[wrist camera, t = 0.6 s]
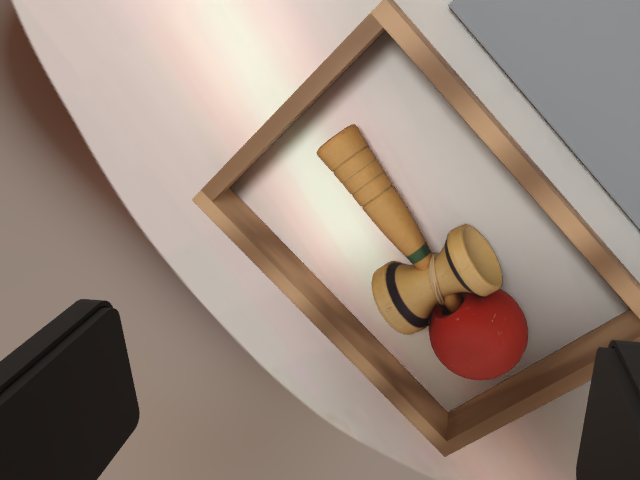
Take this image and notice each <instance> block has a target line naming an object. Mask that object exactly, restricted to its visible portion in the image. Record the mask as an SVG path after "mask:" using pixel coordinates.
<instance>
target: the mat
mask: <svg viewBox="0 0 640 480" xmlns="http://www.w3.org/2000/svg"><path fill="white" fill-rule="evenodd" d="M448 6H449V7H450V8H451V9H452V10H453V12H454V13H455V14H456V15H457V16H458V17H459V19H460V20H461V21H462V22H463V23H464V24H465V26H466V27H467V28H468V29H469V30H470V31H471V33H472V34H473V35H474V36H475V37H476V39H477V40H478V41H479V42H480V43H481V44H482V46H483V47H484V48H485V49H486V50H487V51H488V53H489V54H490V55H491V56H492V57H493V58H494V60H495V61H496V62H497V63H498V64H499V65H500V67H501V68H502V69H503V70H504V71H505V72H506V74H507V75H508V76H509V77H510V78H511V79H512V81H513V82H514V83H515V84H516V85H517V86H518V88H519V89H520V90H521V91H522V92H523V93H524V95H525V96H526V97H527V98H528V99H529V101H530V102H531V103H532V104H533V105H534V106H535V108H536V109H537V110H538V111H539V112H540V113H541V115H542V116H543V117H544V118H545V119H546V120H547V122H548V123H549V124H550V125H551V126H552V127H553V129H554V130H555V131H556V132H557V133H558V134H559V136H560V137H561V138H562V139H563V140H564V141H565V143H566V144H567V145H568V146H569V147H570V148H571V150H572V151H573V152H574V153H575V154H576V156H577V157H578V158H579V159H580V160H581V161H582V163H583V164H584V165H585V166H586V167H587V168H588V170H589V171H590V172H591V173H592V174H593V175H594V177H595V178H596V179H597V180H598V181H599V182H600V184H601V185H602V186H603V187H604V188H605V189H606V191H607V192H608V193H609V194H610V195H611V196H612V198H613V199H614V200H615V201H616V202H617V203H618V205H619V206H620V207H621V208H622V209H623V210H624V212H625V213H626V214H627V215H628V216H629V218H630V219H631V220H632V221H633V222H634V223H635V225H636V226H637V227H638V228H639V229H640V0H453V1H452V2H451V3H450V4H449V5H448Z"/></svg>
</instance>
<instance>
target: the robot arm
mask: <svg viewBox="0 0 640 480" xmlns="http://www.w3.org/2000/svg"><path fill="white" fill-rule="evenodd" d="M138 420H139V407H138V402H137V397H136V392H135V387H134V383H133V378H132V373H131V368H130V363H129V358H128V354H127V349H126V344H125V339H124V334H123V329H122V325H121V320H120V315H119V313H118V311H117V310H116V309H114V308H113V307H112V305H111V304H110V303H109V302H108V301H101V300H89V299H80V300H78V301H76V302H75V303H74V304H73V305H71V306H70V307H69V308H68V309H66V310H65V311H64V312H63V313H61V314H60V315H59V316H57V317H56V318H55V319H54V320H52V321H51V322H50V323H49V324H47V325H46V326H45V327H43V328H42V329H41V330H40V331H38V332H37V333H36V334H35V335H33V336H32V337H31V338H29V339H28V340H27V341H26V342H25V343H23V344H22V345H21V346H19V347H18V348H17V349H16V350H14V351H13V352H12V353H11V354H9V355H8V356H7V357H6V358H4V359H3V360H2V361H0V480H97V479H98V477H99V476H100V475H101V474H102V472H103V471H104V470H105V468H106V467H107V466H108V464H109V463H110V461H111V460H112V459H113V458H114V456H115V455H116V454H117V452H118V451H119V450H120V448H121V447H122V446H123V444H124V443H125V442H126V440H127V439H128V438H129V436H130V435H131V434H132V432H133V431H134V430H135V428H136V426H137V424H138ZM576 478H577V480H640V342H635V341H622V340H612V341H610V343H609V345H608V348H605V347H599V348H598V349H597V352H596V356H595V362H594V368H593V374H592V379H591V385H590V391H589V397H588V402H587V408H586V414H585V420H584V426H583V431H582V437H581V443H580V449H579V454H578V460H577V467H576Z"/></svg>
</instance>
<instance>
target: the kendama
mask: <svg viewBox="0 0 640 480" xmlns="http://www.w3.org/2000/svg"><path fill="white" fill-rule="evenodd" d="M317 155H318V156H319V157H320V159H321V160H322V161H323V162H324V163H325V164H326V165H327V166H328V168H329V169H330V170H331V171H334V174H335V176H336V177H337V178H338V179H339V180H340V182H341V183H343V185H344V186H345V188H346V189H347V190H348V191H349V192H350V194H352V195H353V197H354V199H355V200H356V201H357V202H358V204H359V205H360V206H363V210H364V211H365V212H366V213H367V215H368V216H369V217H370V218H371V219H372V221H373V222H374V223H375V224H376V225H377V226H378V228H379V229H380V230H381V231H382V232H383V233H384V234H385V235H386V237H387V238H388V239H389V240H390V241H391V242H392V243H393V244H394V245H395V246H396V247H397V248H398V249H399V250H400V251H401V252H402V253H403V254H404V255H405V256H406V257H407V258H408V259H409V260H410V261H411V262H412V264H413V265H414V266H410V265H405V264H402V263H400V262H396V261H391V262H389V263H387V264H386V265H384V266H382V267H381V268H379V269H378V270H376V271H375V272H374V274H373V277H372V291H373V296H374V299H375V302H376V304H377V307H378V309H379V311H380V313H381V314H382V316H383V317H384V319H385V320H386V321H387V322H388V324H389V325H390V326H391V327H393V328H394V329H395V330H397V331H398V332H400V333H402V334H408V335H409V334H413V333H415V332H417V331H420V330H422V329H424V328H426V327H427V326H429V336H430V341H431V345H432V348H433V350H434V352H435V354H436V356H437V357H438V358H439V360H440V361H441V362H442V363H443V365H445V366H446V367H447V368H448V369H449V370H451V371H452V372H454V373H455V374H457V375H459V376H462V377H464V378H468V379H473V380H489V379H494V378H496V377H499V376H501V375H503V374H505V373H506V372H508V371H509V370H511V369H512V368H513V367H514V366H515V365H516V364H517V363H518V362H519V360H520V359H521V357H522V355H523V353H524V351H525V349H526V346H527V341H528V327H527V322H526V319H525V316H524V314H523V312H522V310H521V308H520V307H519V305H518V304H517V302H516V301H515V300H514V299H513V298H512V297H511V296H510V295H508V294H507V293H506V292H504V291H502V290H501V289H500V287H501V285H502V272H501V268H500V265H499V262H498V260H497V257H496V255H495V253H494V252H493V250H492V248H491V246H490V245H489V243H488V242H487V241H486V239H485V238H484V237H483V236H482V235H481V234H480V233H479V232H478V231H477V230H476V229H475V228H473V227H472V226H470V225H467V224H464V225H462V226H459V227H457V228H455V229H453V230H451V231H450V232H449V234H448V236H447V240H446V243H445V245H444V247H443V249H442V251H441V252H440V253H439V254H437V253H436V254H432V252H431V251H430V250H429V247H428V245H427V243H426V241H425V240H424V238H423V236H422V234H421V232H420V230H419V228H418V227H417V224H416V223H415V221H414V219H413V217H412V215H411V214H410V212H409V210H408V208H407V207H406V205H405V203H404V202H403V200H402V198H401V197H400V195H399V194H398V192H397V191H396V189H395V188H394V186H391V181H390V180H389V178H388V177H387V175H386V174H385V173H384V172H383V169H382V167H381V166H380V164H379V162H378V161H377V160H376V158H375V156H374V154H373V153H372V151H371V150H370V148H368V147H367V143H366V141H365V140H364V138H363V136H362V135H361V133H360V131H359V129H358V128H357V126H356V125H355V124H353V125H350V126H348V127H346V128H345V129H344V130H342V131H341V132H339V133H338V134H336V135H335V136H334V137H332V138H331V139H329V140H328V141H327V142H326V143H325V144H323V145H322V146H321V147H320V148H319V149H318V151H317Z"/></svg>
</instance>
